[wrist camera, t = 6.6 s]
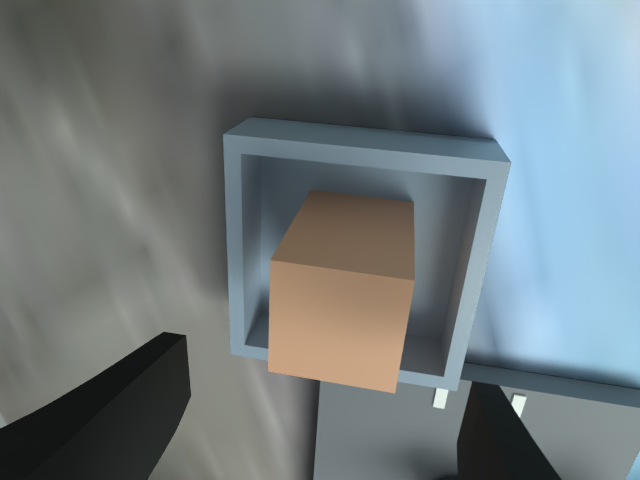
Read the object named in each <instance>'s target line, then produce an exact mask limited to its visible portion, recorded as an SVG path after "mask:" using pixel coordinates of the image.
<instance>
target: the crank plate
mask: <svg viewBox="0 0 640 480" xmlns="http://www.w3.org/2000/svg"><path fill="white" fill-rule="evenodd" d="M472 381H476V382H482V383H488V384H495V385H499V386H500V387H501V389H502V390H503V392H504V393H505V395H506V397H507V398H508V400H509V401H510V403H511V405H512V406H513V408H514V410H515V411H516V413H517V414H518V416H519V417H520V419H521V421H522V422H523V424H524V425H525V427H526V428H527V430H528V431H529V433H530V435H531V436H532V438H533V439H534V441H535V442H536V444H537V445H538V446H539V448H540V449H541V451H542V452H543V454H544V455H545V456H546V458H547V459H548V461H549V462H550V464H551V465H552V466H553V468H554V469H555V471H556V472H557V473H558V475H559V476H560V478H561V479H562V480H625V479H626V477H627V475H628V473H629V471H630V469H631V467H632V465H633V463H634V461H635V459H636V457H637V455H638V453H639V451H640V389H633V388H627V387H620V386H614V385H607V384H601V383H594V382H588V381H581V380H575V379H569V378H562V377H556V376H549V375H543V374H536V373H530V372H523V371H517V370H511V369H504V368H498V367H491V366H485V365H478V364H472V363H465V362H464V363H463V368H462V372H461V376H460V380H459V384H458V389H457V391H452V390H445V389H439V388H433V387H427V386H421V385H415V384H409V383H403V382H397V386H396V391H395V393H389V392H384V391H378V390H372V389H366V388H361V387H355V386H349V385H343V384H338V383H332V382H326V381H320V393H319V407H318V421H317V435H316V449H315V463H314V477H313V480H438V479H440V478H444V477H458V470H457V439H458V435H459V431H460V427H461V423H462V419H463V416H464V412H465V408H466V404H467V400H468V396H469V392H470V388H471V384H472Z"/></svg>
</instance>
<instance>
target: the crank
mask: <svg viewBox="0 0 640 480" xmlns="http://www.w3.org/2000/svg"><path fill="white" fill-rule="evenodd" d="M438 480H458V477H444V478H440V479H438Z"/></svg>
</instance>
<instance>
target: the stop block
mask: <svg viewBox="0 0 640 480" xmlns="http://www.w3.org/2000/svg"><path fill="white" fill-rule="evenodd" d="M414 283H415V234H414V202H409V201H401V200H392V199H384V198H376V197H367V196H359V195H351V194H343V193H334V192H326V191H318V190H311V191H310V193H309V194H308V196H307V198H306V199H305V201H304V203H303V205H302V206H301V208H300V210H299V211H298V213H297V215H296V217H295V218H294V220H293V222H292V223H291V225H290V227H289V229H288V230H287V232H286V234H285V236H284V237H283V239H282V241H281V242H280V244H279V246H278V248H277V249H276V251H275V253H274V254H273V256H272V258H271V260H270V295H269V346H268V372H274V373H280V374H286V375H292V376H297V377H303V378H309V379H315V380H320V381H326V382H332V383H338V384H343V385H349V386H355V387H361V388H366V389H372V390H378V391H384V392H389V393H395V391H396V386H397V380H398V374H399V369H400V363H401V357H402V351H403V346H404V340H405V334H406V329H407V323H408V317H409V312H410V306H411V300H412V295H413V289H414Z"/></svg>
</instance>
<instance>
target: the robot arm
mask: <svg viewBox="0 0 640 480" xmlns="http://www.w3.org/2000/svg"><path fill="white" fill-rule="evenodd" d="M190 397H191V389H190V377H189V365H188V353H187V341H186V335H181V334H174V333H168V332H163V333H161V334H160V335H158V336H156V337H155V338H153V339H152V340H150V341H149V342H147V343H146V344H144V345H143V346H141V347H140V348H138V349H137V350H135V351H134V352H132V353H131V354H129V355H128V356H126V357H124V358H123V359H121V360H120V361H118V362H117V363H115V364H114V365H112V366H111V367H109V368H108V369H106V370H104V371H103V372H101V373H100V374H98V375H97V376H95V377H93V378H92V379H90V380H89V381H87V382H85V383H83V384H82V385H80V386H78V387H77V388H75V389H73V390H72V391H70V392H68V393H67V394H65V395H63V396H61V397H60V398H58V399H56V400H55V401H53V402H51V403H49V404H48V405H46V406H44V407H42V408H40V409H38V410H36V411H35V412H33V413H31V414H29V415H27V416H25V417H23V418H21V419H19V420H17V421H15V422H13V423H11V424H9V425H7V426H5V427H3V428H0V480H147V479H148V478H149V476H150V474H151V473H152V471H153V469H154V468H155V466H156V464H157V463H158V461H159V459H160V457H161V456H162V454H163V452H164V451H165V449H166V447H167V445H168V444H169V442H170V440H171V439H172V437H173V435H174V433H175V431H176V429H177V427H178V425H179V423H180V420H181V418H182V416H183V414H184V411H185V409H186V407H187V404H188V402H189V399H190ZM457 470H458V480H562V479H561V478H560V476H559V475H558V473H557V472H556V471H555V469H554V468H553V466H552V465H551V464H550V462H549V461H548V459H547V458H546V456H545V455H544V454H543V452H542V451H541V449H540V448H539V446H538V445H537V444H536V442H535V441H534V439H533V438H532V436H531V435H530V433H529V431H528V430H527V428H526V427H525V425H524V424H523V422H522V421H521V419H520V417H519V416H518V414H517V413H516V411H515V410H514V408H513V406H512V405H511V403H510V401H509V400H508V398H507V397H506V395H505V393H504V392H503V390H502V389H501V387H500V386H499V385H495V384H488V383H482V382H476V381H472V384H471V388H470V392H469V396H468V400H467V404H466V408H465V412H464V416H463V419H462V423H461V427H460V431H459V435H458V439H457Z"/></svg>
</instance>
